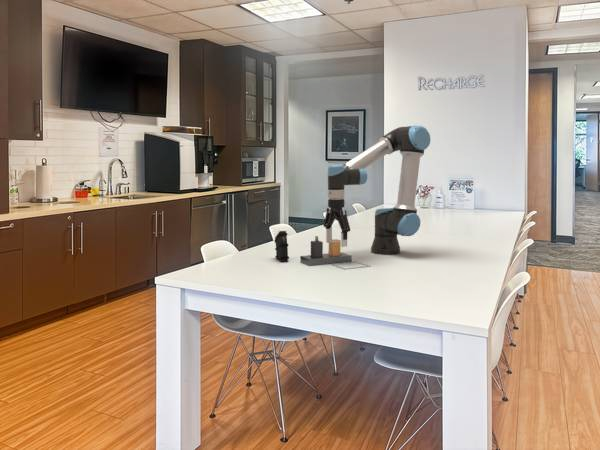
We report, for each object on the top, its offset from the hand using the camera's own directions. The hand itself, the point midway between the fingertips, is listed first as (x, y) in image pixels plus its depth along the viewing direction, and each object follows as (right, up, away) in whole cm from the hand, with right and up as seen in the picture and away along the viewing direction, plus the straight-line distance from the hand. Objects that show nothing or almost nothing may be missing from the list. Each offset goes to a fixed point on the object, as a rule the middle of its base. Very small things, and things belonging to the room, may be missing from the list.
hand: (336, 244), depth 240 cm
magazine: (-26, -9, +4) cm, 27 cm away
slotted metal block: (-5, -9, -1) cm, 10 cm away
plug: (-1, -8, 0) cm, 8 cm away
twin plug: (-9, -8, -4) cm, 13 cm away
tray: (+6, -10, -9) cm, 15 cm away
